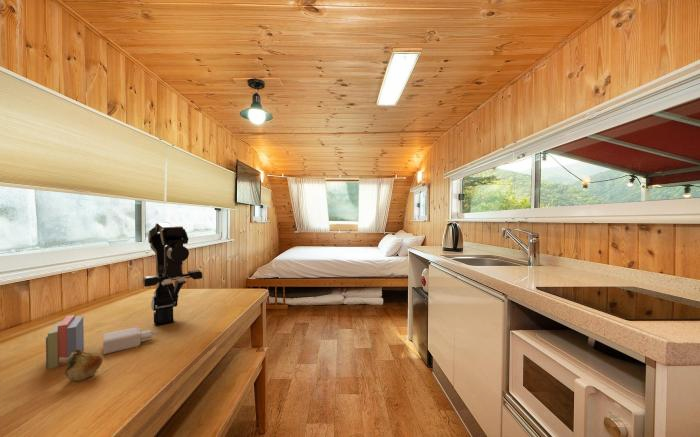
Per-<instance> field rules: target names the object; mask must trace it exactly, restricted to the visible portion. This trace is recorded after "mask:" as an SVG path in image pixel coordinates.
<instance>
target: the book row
mask: <svg viewBox="0 0 700 437" xmlns="http://www.w3.org/2000/svg"><path fill="white" fill-rule="evenodd" d="M84 328H85V327H84V316H82V315H81V316H76V315H75V314H71V315H66V316H65V318H63V319H62V320H61V321H57V323H56V324H54V326H53V327H52V329H51V330H49V332H48V333H47V336H46V337H45V361H46V362H45V363H46V364H45V366H46V368H45V369H55V368H58V367H60V366H65V365H66V366H68V364H69V362H68V363H65V362H60V361H59V358H68V357H70V355H71V353H72V352H75V350H80V349H81V350H82V352H84V349H85V347H84V346H85V344H84V340H85V339H84V338H85V336H84V334H85V333H84V332H85V331H84Z"/></svg>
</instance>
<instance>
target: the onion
mask: <svg viewBox="0 0 700 437" xmlns="http://www.w3.org/2000/svg"><path fill="white" fill-rule="evenodd" d="M59 361H60V362H65V363H68V362H69V364H68V365H66V367H65V370H64V371H65V372H64V374H65V377H66V378H67V379H68V380H70V381H72V382H79V381H83V380H84V381H85V380H86V379H88V378H90V377H93V376H94V375H95V374H96V372H99V369H100V367H101V366H102V364H103V361H104V360H103V358H102V356H101V355H100V354H99V353H97V352H95V351H93V352H91V351H87V352H84V351H82V350H81V349H80V350H75V352H72V353H71V355H70V357H68V358H59Z"/></svg>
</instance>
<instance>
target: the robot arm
mask: <svg viewBox="0 0 700 437" xmlns="http://www.w3.org/2000/svg"><path fill="white" fill-rule="evenodd" d="M147 235H148V237H147V242H148V243H149V245H150V249H151V250H152V251H153V252H154V254H155V264H156V266H155V267H156V274H153V275H147V276H143V277H142V278H141V279H142V280H141V281H142V282H141V284H142V286H143V287H152V286H156V289H155V290H154V292H153V296H152V298H151V302H150V303H151V304H150V307H151V310H152V311H153V324H154V325H155V326H161V325H167V324H172V323H174V322H175V321H174V308H175V307H178V302H179V292H180V291H181V289H182V288H183V286H184V284H187V281H186V279H192V280H201V279H202V280H203V271H201V270H199V269H195V270H187V271H188V272H187V273H184V272H183V264H184V263H183V262H184V261H186V260H187V259H188V258H189V255H190V251H189V249H188V248H187V247H186V246H184V245H186V244H189V243H188V242H189V241H190V240H189V236H188V233H187V231H186V229H185V228H184V227H183V226H181V225H177V226H176V225H175V226H173V225H172V224H171V223H170V222H156V223H155V226H154V227H153V228H151V229H150V230H149V232H148V234H147ZM172 281H173V282H172Z"/></svg>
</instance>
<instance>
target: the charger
mask: <svg viewBox="0 0 700 437" xmlns="http://www.w3.org/2000/svg"><path fill="white" fill-rule="evenodd" d="M157 334H159V330H154V331H152V330H151V329H148V330H142V331H141V328H140V327H138V326H137V327H135V326H134V327H131V328H126V329H120V330H115V331H112V332H111V331H110V332H105V333H104V335H103V336H104V337H103V341H102V342H103V345H102V349H103V350H102V352H103V354H102V355H107V354H111V353H115V352H121V351H125V350H128V349H132V348H133V349H134V348H137V347H139V346H140V345H141V341H143V340H147V339H151V338H152V335H157Z"/></svg>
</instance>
